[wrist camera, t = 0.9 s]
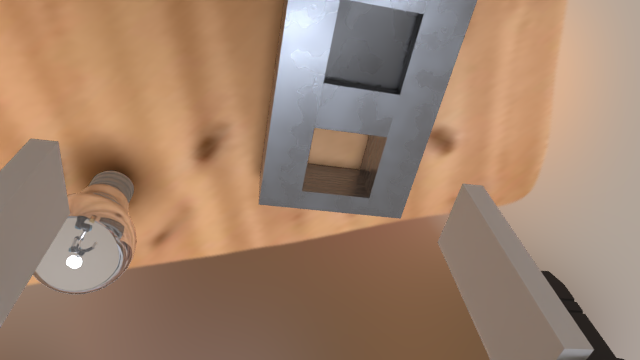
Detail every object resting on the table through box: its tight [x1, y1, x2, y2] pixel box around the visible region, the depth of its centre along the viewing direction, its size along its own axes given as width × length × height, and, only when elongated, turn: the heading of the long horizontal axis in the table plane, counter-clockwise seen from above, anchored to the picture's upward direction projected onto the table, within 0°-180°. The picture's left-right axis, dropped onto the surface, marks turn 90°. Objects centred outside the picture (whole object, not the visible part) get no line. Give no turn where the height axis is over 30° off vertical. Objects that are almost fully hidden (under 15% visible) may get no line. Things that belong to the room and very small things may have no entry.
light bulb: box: [33, 171, 137, 294], centre depth 33 cm, size 7×7×12 cm
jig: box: [259, 0, 477, 218], centre depth 34 cm, size 18×12×4 cm, turn 169°
